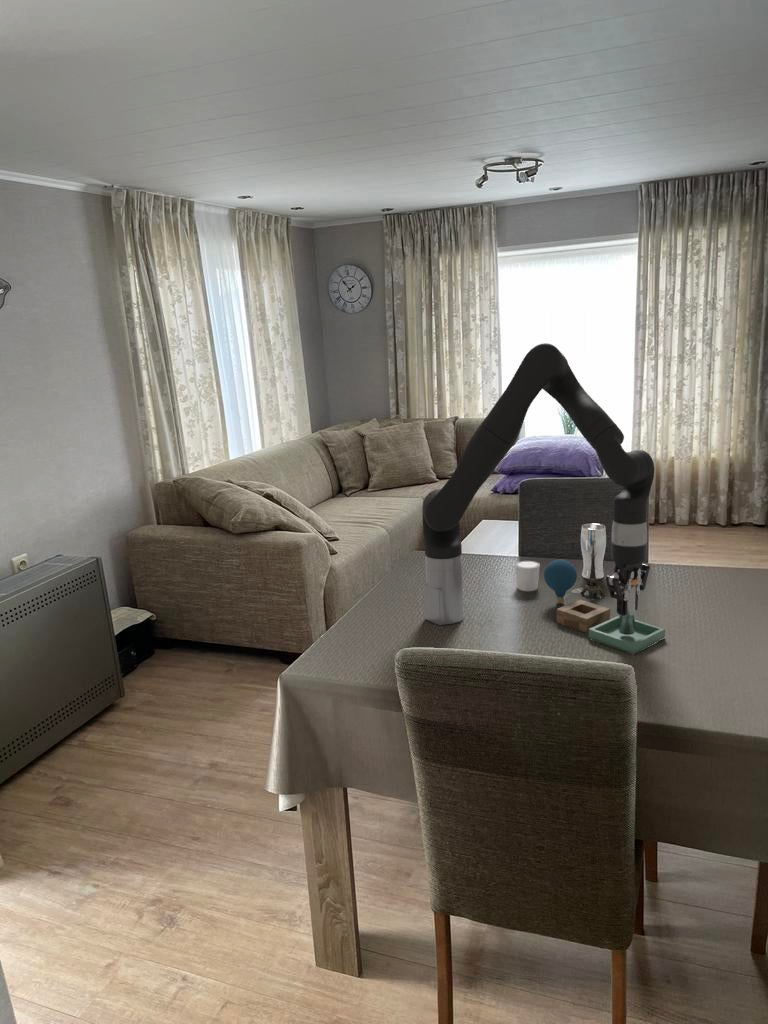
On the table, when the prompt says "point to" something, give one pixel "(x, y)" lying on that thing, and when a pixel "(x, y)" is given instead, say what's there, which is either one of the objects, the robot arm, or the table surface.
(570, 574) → the light bulb
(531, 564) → the white cylinder
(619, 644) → the tray
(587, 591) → the eiffel tower figurine
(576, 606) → the socket block
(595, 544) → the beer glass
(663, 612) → the table surface
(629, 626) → the pin
